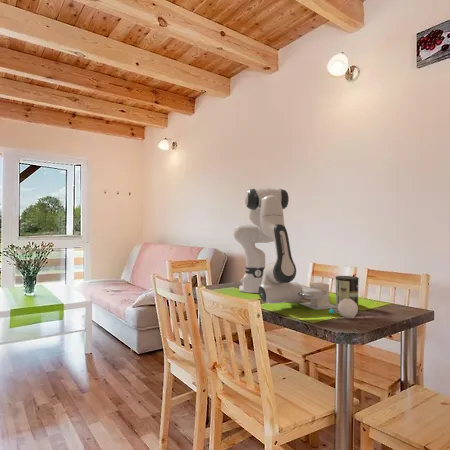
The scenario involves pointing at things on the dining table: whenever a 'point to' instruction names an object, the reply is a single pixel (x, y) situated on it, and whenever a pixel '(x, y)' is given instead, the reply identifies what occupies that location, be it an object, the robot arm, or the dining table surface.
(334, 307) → the blue-grey board
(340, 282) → the coffee can
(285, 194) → the robot arm
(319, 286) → the white tall block
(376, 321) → the dining table surface
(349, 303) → the perfume bottle
